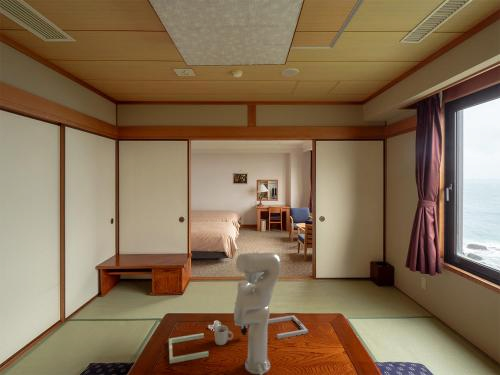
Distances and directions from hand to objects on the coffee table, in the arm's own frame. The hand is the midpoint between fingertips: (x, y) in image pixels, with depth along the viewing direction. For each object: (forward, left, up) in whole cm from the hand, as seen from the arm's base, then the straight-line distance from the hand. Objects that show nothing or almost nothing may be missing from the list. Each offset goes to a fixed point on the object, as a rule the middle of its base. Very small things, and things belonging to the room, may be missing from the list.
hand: (243, 333), depth 161 cm
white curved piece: (+20, +14, -4) cm, 24 cm away
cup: (0, +12, -3) cm, 12 cm away
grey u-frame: (+4, -28, -3) cm, 28 cm away
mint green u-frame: (0, +31, -3) cm, 31 cm away
